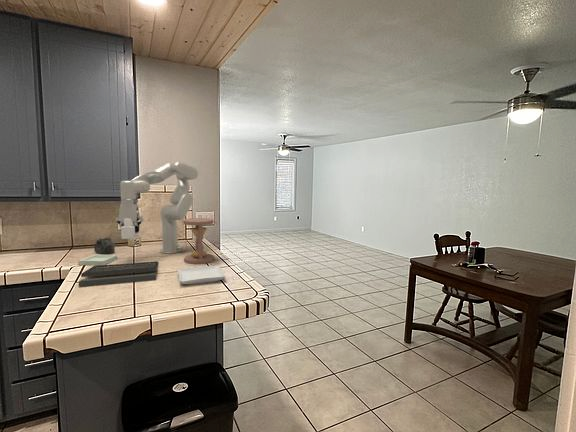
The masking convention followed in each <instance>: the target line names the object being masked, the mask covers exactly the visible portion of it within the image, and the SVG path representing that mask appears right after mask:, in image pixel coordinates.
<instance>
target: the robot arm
mask: <svg viewBox="0 0 576 432" xmlns="http://www.w3.org/2000/svg"><path fill="white" fill-rule="evenodd" d="M174 175H175V177H176V180H177V185H176V186H175V188H174V191H173V192H172V194H171V196H170V197H169V202H170V204H165V205H163V206H162V207H161V208H160V213H159V214H160V218H161V225H162V226H161V229H162V230H161V231H162V248H161V249H160V251H159V252H160V253H161V254H166V255H167V254H177V253H179V252H181V250H185V247H184V246H183V245H181V246H180V244H179V242H178V241H179V238H178V235H179V234H178V233H179V232H178V221H182V220H184V219H185V217H186V216H187V214H188V213H189V211H190V208H191V207H192V205H193V202H194V198H193V195H192V194H191V193H190V187H191V186H190V183H189V181H191V180H193V181H194V180H196V179H197V178H198V176H199V172H198V170H197V168H196V167H194V166H192V165H190V164H186V163H185V162H181V161H167V162H166V163H164V164H162V165H160V166H159V167H157V168H155V169H154V170H150V171H148V172H146V173H143V174H140V175H137V176H136V177H134V178H132V179H130V180H121V181H120V183H119V184H120V186H119V187H120V206H119V211H118V213H119V214H118V215H117V216H116V217H115V218H114V221H116V222H117V224H118V225H119V226H120V228H121V227H122V226H124V219H125V218H129V219H131V220H132V222H134V223H135V225H136V226H135V233H137V232H139V233H140V225H141V224H142V223H143V221H145V219H144V217H142V216H141V215H140V209H139V205H138V204H137V203H139V200H137V198H136V197H137V195H136V194H137V193H138V194H145V193H148V192H149V191H150V189H151V185H155V184H159V183H162V182H164V181H166V180H167V179H168V178H170V177H172V176H174Z"/></svg>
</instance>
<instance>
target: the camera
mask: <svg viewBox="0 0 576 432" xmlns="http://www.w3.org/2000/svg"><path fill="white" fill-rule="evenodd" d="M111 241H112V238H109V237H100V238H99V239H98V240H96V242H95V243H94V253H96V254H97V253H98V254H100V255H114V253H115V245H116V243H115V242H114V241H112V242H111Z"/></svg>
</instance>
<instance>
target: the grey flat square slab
mask: <svg viewBox="0 0 576 432" xmlns="http://www.w3.org/2000/svg"><path fill="white" fill-rule="evenodd" d="M177 273H178V281H179V283H180V284H182V285H197V284H198V285H199V284H206V283H213V282H214V283H215V282H218V281H222V280H224V279H225V278H226V274H225V273H224V272H223V271H222V269H221V268H220V266H219V265H206V266H194V267H192V266H191V267H185V268H178V269H177Z"/></svg>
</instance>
